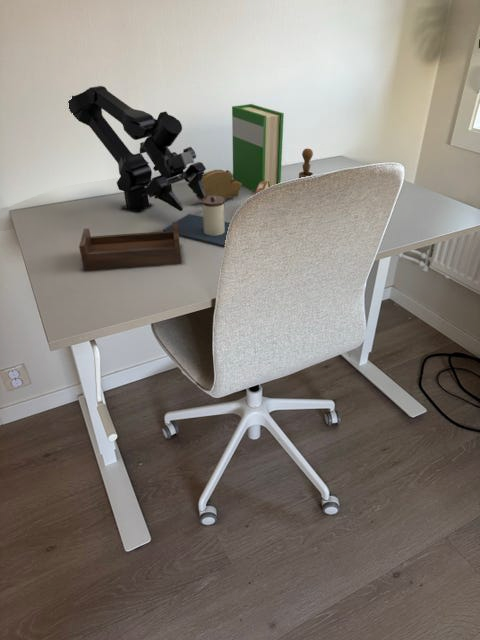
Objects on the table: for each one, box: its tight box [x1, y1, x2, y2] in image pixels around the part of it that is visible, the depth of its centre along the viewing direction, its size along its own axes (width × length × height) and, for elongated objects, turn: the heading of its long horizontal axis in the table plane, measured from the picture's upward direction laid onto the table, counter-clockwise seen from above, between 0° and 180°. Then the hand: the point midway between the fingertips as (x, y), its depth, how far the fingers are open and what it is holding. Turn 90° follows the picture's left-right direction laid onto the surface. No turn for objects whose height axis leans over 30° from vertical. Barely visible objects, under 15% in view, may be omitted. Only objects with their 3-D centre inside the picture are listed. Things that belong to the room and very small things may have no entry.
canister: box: [200, 195, 226, 236], centre depth 125 cm, size 6×6×10 cm
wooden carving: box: [192, 169, 243, 201], centre depth 145 cm, size 16×5×10 cm, turn 120°
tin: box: [254, 181, 270, 195], centre depth 137 cm, size 15×3×8 cm, turn 168°
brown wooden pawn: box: [298, 148, 314, 179], centre depth 136 cm, size 7×6×18 cm
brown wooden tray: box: [78, 221, 182, 272], centre depth 115 cm, size 10×23×6 cm, turn 99°
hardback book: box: [231, 103, 285, 192], centre depth 153 cm, size 18×7×24 cm, turn 33°
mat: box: [162, 213, 231, 248], centre depth 129 cm, size 20×13×1 cm, turn 61°
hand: (193, 205), depth 128 cm, fingers open, 9 cm apart
